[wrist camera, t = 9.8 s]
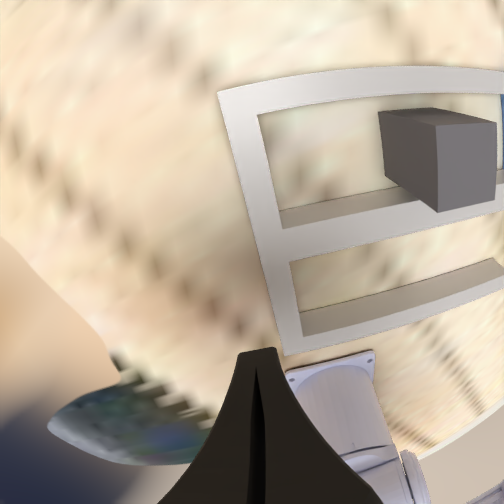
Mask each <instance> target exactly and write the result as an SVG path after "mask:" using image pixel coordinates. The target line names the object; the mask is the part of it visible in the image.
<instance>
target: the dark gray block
mask: <svg viewBox="0 0 504 504" xmlns="http://www.w3.org/2000/svg"><path fill="white" fill-rule="evenodd" d="M378 116H379V123H380V131H381V139H382V148H383V158H384V169H385V176H386V177H388V178H389V179H391V180H392V181H393V182H395V183H396V184H398V185H399V186H401V187H402V188H404V189H405V190H407V191H408V192H409V193H411V194H412V195H414V196H415V197H416V198H418V199H419V200H421V201H422V202H423V203H425V204H426V205H427V206H429V207H430V208H431V209H433V210H434V211H435V212H437V213H440V212H445V211H449V210H453V209H458V208H462V207H467V206H471V205H475V204H480V203H484V202H489V201H493V200H495V192H496V175H497V123H496V122H492V121H489V120H485V119H481V118H477V117H473V116H469V115H465V114H461V113H456V112H452V111H447V110H442V109H437V108H417V109H403V110H392V111H381V112H378Z"/></svg>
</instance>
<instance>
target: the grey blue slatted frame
mask: <svg viewBox="0 0 504 504" xmlns="http://www.w3.org/2000/svg"><path fill="white" fill-rule="evenodd" d="M413 93H491V94H501V102H502V117H503V169H499V170H497V175H496V192H495V200H493V201H489V202H484V203H480V204H475V205H471V206H467V207H462V208H458V209H453V210H449V211H445V212H440V213H437V212H435V211H434V210H433V209H431V208H430V207H429V206H427V205H426V204H425V203H423V202H422V201H421V200H419V199H418V198H416V197H415V196H414V195H412V194H411V193H409V192H408V191H407V190H405V189H404V188H402V187H401V186H400V187H394V188H389V189H384V190H379V191H373V192H368V193H363V194H358V195H353V196H348V197H343V198H339V199H334V200H329V201H324V202H319V203H315V204H310V205H305V206H301V207H296V208H292V209H287V210H283V211H278V206H277V201H276V197H275V192H274V187H273V183H272V178H271V174H270V169H269V165H268V161H267V156H266V152H265V147H264V143H263V139H262V135H261V130H260V126H259V122H258V118H257V115H258V114H262V113H267V112H272V111H277V110H282V109H287V108H293V107H298V106H304V105H310V104H317V103H323V102H330V101H337V100H345V99H353V98H362V97H372V96H383V95H396V94H413ZM217 95H218V98H219V102H220V106H221V110H222V114H223V117H224V121H225V125H226V129H227V133H228V137H229V140H230V144H231V148H232V152H233V156H234V160H235V163H236V167H237V171H238V175H239V179H240V183H241V187H242V190H243V194H244V198H245V202H246V206H247V210H248V214H249V218H250V221H251V225H252V229H253V233H254V237H255V241H256V245H257V249H258V253H259V257H260V261H261V265H262V268H263V272H264V276H265V280H266V284H267V288H268V292H269V296H270V300H271V304H272V308H273V312H274V316H275V320H276V324H277V328H278V332H279V336H280V340H281V344H282V348H283V352H284V356H289V355H293V354H298V353H302V352H307V351H311V350H316V349H320V348H324V347H328V346H332V345H336V344H340V343H344V342H348V341H352V340H356V339H359V338H363V337H366V336H370V335H374V334H377V333H380V332H384V331H387V330H391V329H394V328H397V327H400V326H403V325H407V324H410V323H413V322H416V321H419V320H422V319H425V318H428V317H431V316H434V315H437V314H439V313H442V312H445V311H448V310H450V309H453V308H456V307H458V306H461V305H464V304H466V303H469V302H471V301H474V300H477V299H479V298H482V297H484V296H486V295H489V294H491V293H494V292H496V291H498V290H501V289H503V288H504V268H503V267H502V266H501V265H500V264H499V263H498V262H497V261H496V260H495V259H494V258H491V259H488V260H485V261H482V262H479V263H476V264H473V265H470V266H467V267H464V268H461V269H458V270H455V271H452V272H449V273H446V274H443V275H439V276H436V277H433V278H430V279H427V280H423V281H420V282H417V283H413V284H410V285H406V286H403V287H399V288H396V289H392V290H389V291H385V292H381V293H378V294H374V295H370V296H367V297H363V298H359V299H355V300H351V301H347V302H343V303H339V304H335V305H331V306H327V307H323V308H319V309H314V310H310V311H306V312H301V313H299V311H298V306H297V300H296V295H295V290H294V285H293V279H292V274H291V269H290V264H289V262H291V261H295V260H299V259H304V258H308V257H313V256H317V255H321V254H326V253H330V252H334V251H339V250H343V249H347V248H352V247H356V246H360V245H364V244H369V243H373V242H377V241H381V240H386V239H390V238H394V237H398V236H402V235H406V234H410V233H415V232H419V231H423V230H427V229H431V228H435V227H439V226H443V225H447V224H451V223H455V222H459V221H463V220H467V219H471V218H475V217H479V216H483V215H486V214H490V213H494V212H498V211H502V210H504V72H502V71H494V70H485V69H475V68H463V67H446V66H384V67H366V68H353V69H342V70H333V71H324V72H316V73H309V74H302V75H296V76H290V77H284V78H278V79H273V80H267V81H262V82H258V83H253V84H248V85H244V86H239V87H235V88H231V89H227V90H223V91H219V92H217Z"/></svg>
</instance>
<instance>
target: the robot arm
mask: <svg viewBox="0 0 504 504" xmlns="http://www.w3.org/2000/svg"><path fill="white" fill-rule="evenodd" d="M374 366H375V353H374V351H366V352H363V353H359V354H356V355H352V356H348V357H344V358H340V359H337V360H333V361H328V362H324V363H320V364H316V365H311V366H307V367H302V368H298V369H293V370H289V371H287V372H286V373H285V375H284V373H283V371H282V368H281V364H280V360H279V357H278V353H277V349H276V348H274V347H269V348H263V349H258V350H253V351H247V352H242V353H240V354H239V355H238V357H237V362H236V366H235V370H234V373H233V377H232V380H231V383H230V386H229V389H228V392H227V395H226V397H225V400H224V403H223V405H222V407H221V410H220V412H219V414H218V417H217V419H216V421H215V423H214V425H213V427H212V429H211V431H210V433H209V435H208V437H207V439H206V441H205V442H204V444H203V446H202V447H201V449H200V451H199V452H198V454H197V455H196V457H195V459H194V460H193V462H192V463H191V464H190V466H189V467H188V469H187V470H186V471H185V472H184V474H183V475H182V476H181V478H180V479H179V480H178V481H177V483H176V484H175V485H174V486H173V487H172V489H171V490H170V491H169V492H168V493H167V494H166V495H165V496H164V497H163V498H162V499H161V500H160V501H159V502H158V503H157V504H413V501H412V499H413V500H414V504H431V500H430V496H429V493H428V489H427V485H426V482H425V479H424V476H423V473H422V470H421V467H420V464H419V462H418V459H417V457H416V455H415V453H412V452H408V450H403V451H401V452H400V455H401V458H402V461H403V463H402V464H403V467H404V471H405V474H406V475H405V474H404V471H403V468H402V464H401V461H400V458H399V455H398V452H397V449H396V446H395V444H393V441H392V438H391V435H390V432H389V429H388V426H387V423H386V420H385V417H384V415H383V412H382V409H381V406H380V403H379V401H378V398H377V395H376V392H375V390H374V387H373V377H374ZM465 504H504V480H503V481H502V482H501V483H500V484H498V485H496V486H495V487H493V488H491V489H490V490H488V491H486V492H485V493H483V494H481V495H480V496H478V497H476V498H474V499H472V500H471V501H469V502H467V503H465Z"/></svg>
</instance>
